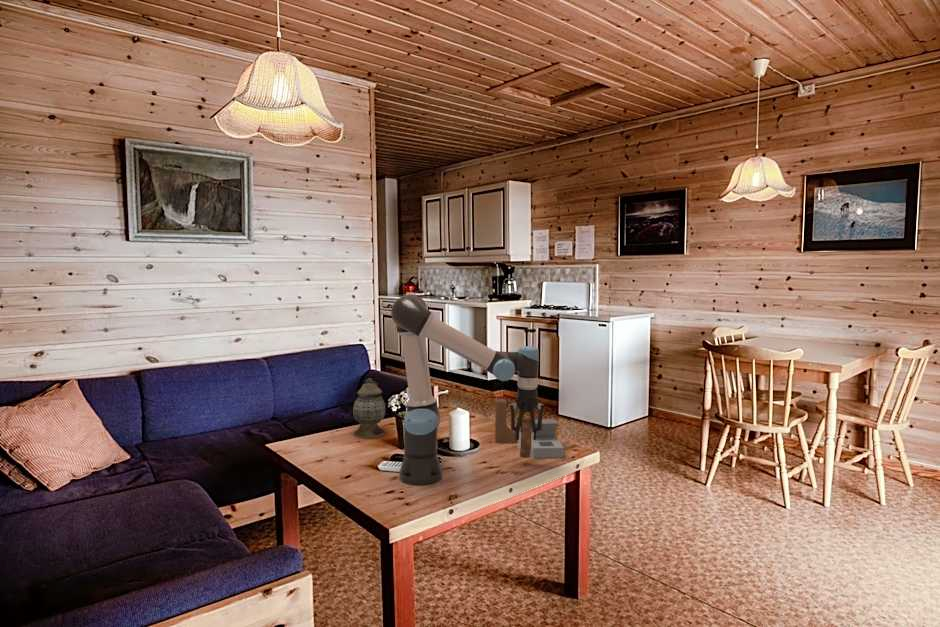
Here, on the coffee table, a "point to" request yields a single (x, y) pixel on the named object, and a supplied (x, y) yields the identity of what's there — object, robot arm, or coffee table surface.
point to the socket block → (547, 441)
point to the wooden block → (502, 424)
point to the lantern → (369, 410)
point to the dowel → (525, 438)
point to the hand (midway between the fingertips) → (525, 447)
